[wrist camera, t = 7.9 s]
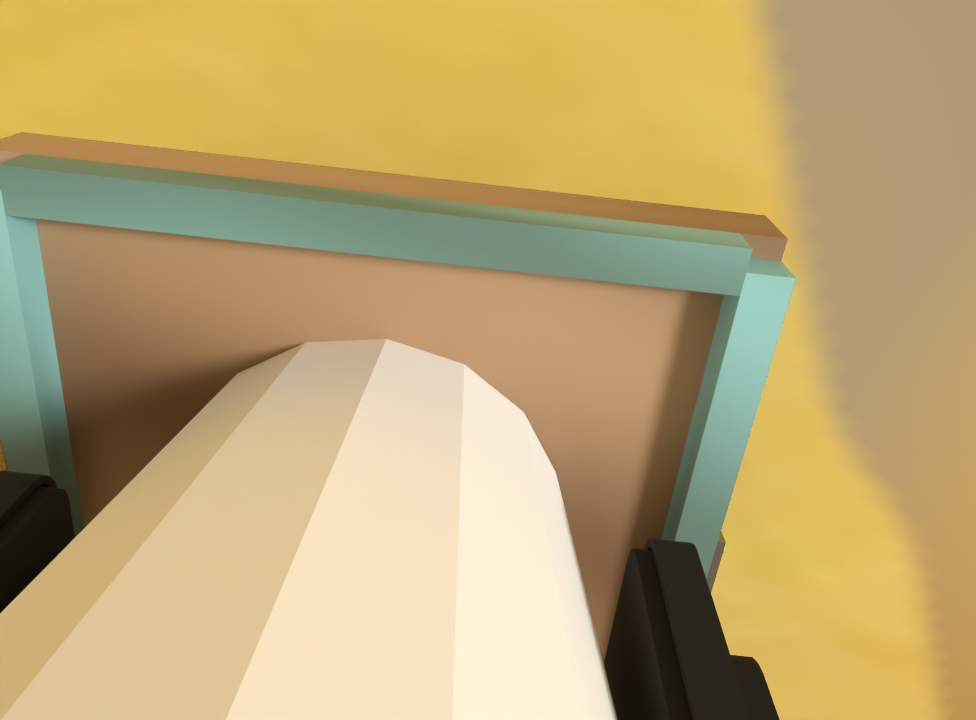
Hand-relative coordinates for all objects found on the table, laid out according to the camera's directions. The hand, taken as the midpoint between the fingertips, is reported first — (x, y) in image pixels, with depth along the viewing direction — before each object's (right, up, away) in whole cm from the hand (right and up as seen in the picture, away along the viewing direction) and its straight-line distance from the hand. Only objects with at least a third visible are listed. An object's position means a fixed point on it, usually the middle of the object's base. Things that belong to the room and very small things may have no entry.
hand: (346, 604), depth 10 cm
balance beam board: (-1, -5, +5) cm, 8 cm away
